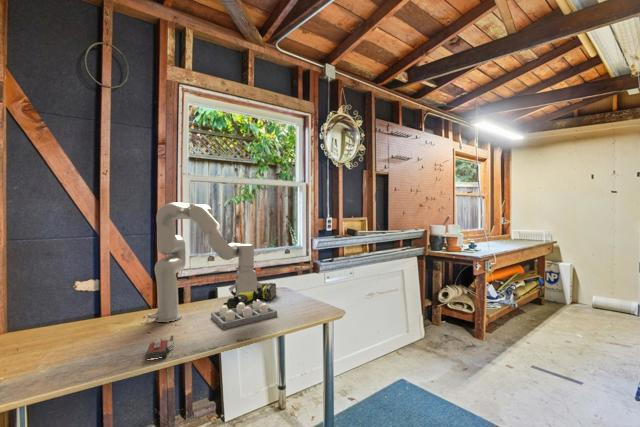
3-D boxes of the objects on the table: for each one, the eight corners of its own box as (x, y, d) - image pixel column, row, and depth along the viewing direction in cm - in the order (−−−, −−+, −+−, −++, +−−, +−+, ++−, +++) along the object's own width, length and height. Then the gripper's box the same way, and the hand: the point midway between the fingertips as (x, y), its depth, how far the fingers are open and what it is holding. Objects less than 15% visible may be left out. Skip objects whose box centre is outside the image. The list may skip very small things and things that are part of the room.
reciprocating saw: (255, 312, 167) (221, 312, 170) (281, 294, 209) (253, 294, 213) (255, 294, 167) (220, 294, 171) (281, 280, 209) (252, 280, 213)
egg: (245, 320, 155) (245, 308, 155) (241, 317, 159) (241, 306, 158) (253, 318, 157) (253, 307, 157) (250, 316, 161) (249, 304, 161)
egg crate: (223, 329, 146) (222, 315, 146) (211, 317, 161) (210, 305, 161) (277, 316, 162) (276, 303, 162) (261, 307, 178) (261, 295, 177)
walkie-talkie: (171, 359, 118) (174, 338, 137) (171, 347, 118) (174, 328, 137) (145, 363, 115) (152, 342, 133) (145, 351, 115) (151, 332, 133)
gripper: (231, 271, 150) (231, 307, 150) (265, 268, 160) (265, 301, 160) (226, 269, 156) (226, 303, 156) (259, 265, 166) (258, 297, 166)
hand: (246, 302), depth 158 cm, fingers open, 9 cm apart
